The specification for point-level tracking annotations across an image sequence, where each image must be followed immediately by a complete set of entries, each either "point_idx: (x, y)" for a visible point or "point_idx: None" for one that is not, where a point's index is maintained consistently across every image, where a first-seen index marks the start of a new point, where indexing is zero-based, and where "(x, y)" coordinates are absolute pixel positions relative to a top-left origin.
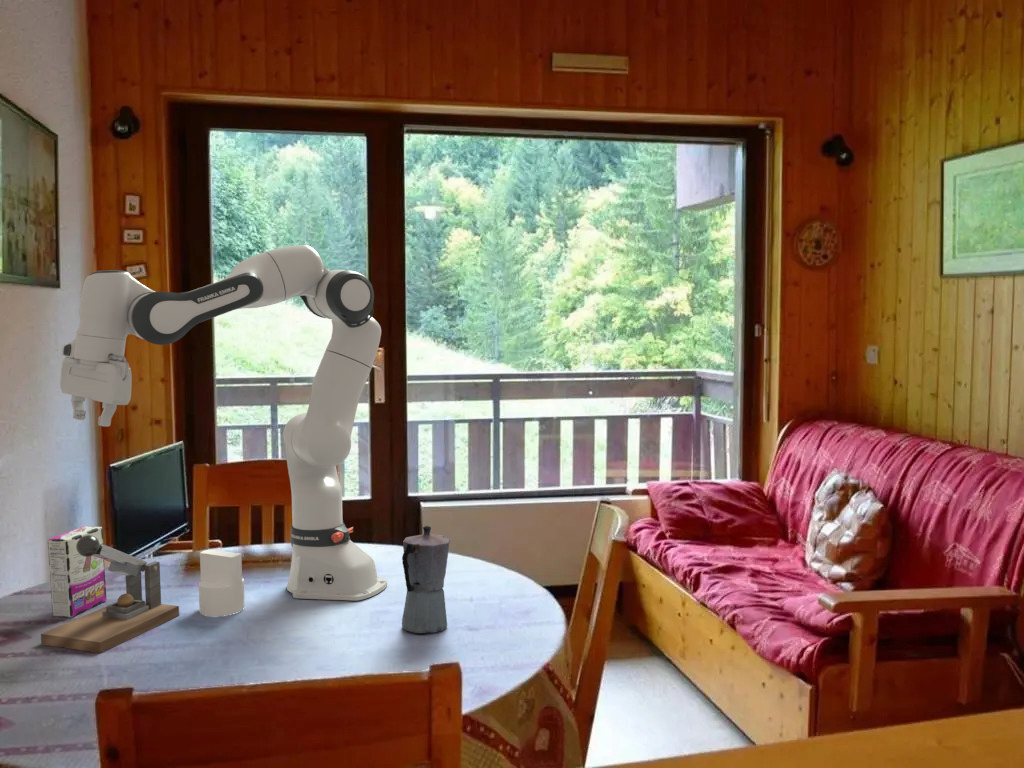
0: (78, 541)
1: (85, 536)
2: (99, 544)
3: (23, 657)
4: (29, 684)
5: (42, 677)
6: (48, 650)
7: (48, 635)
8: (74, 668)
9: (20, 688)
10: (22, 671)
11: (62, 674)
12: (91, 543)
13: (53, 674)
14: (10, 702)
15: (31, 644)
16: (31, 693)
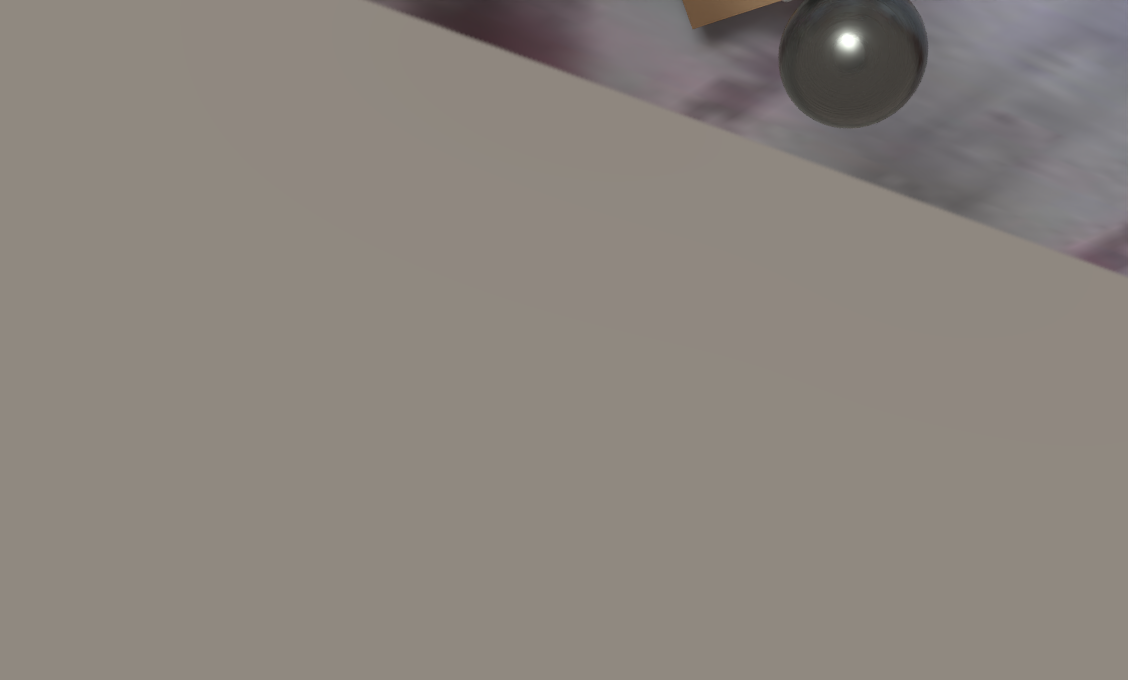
0: (838, 127)
1: (859, 105)
2: (905, 2)
3: (776, 103)
4: (1039, 186)
5: (1026, 140)
6: (787, 19)
7: (734, 15)
8: (1064, 40)
9: (1041, 213)
10: (906, 155)
11: (1072, 90)
12: (920, 75)
13: (1039, 108)
14: (1113, 266)
15: (663, 31)
16: (1116, 210)
